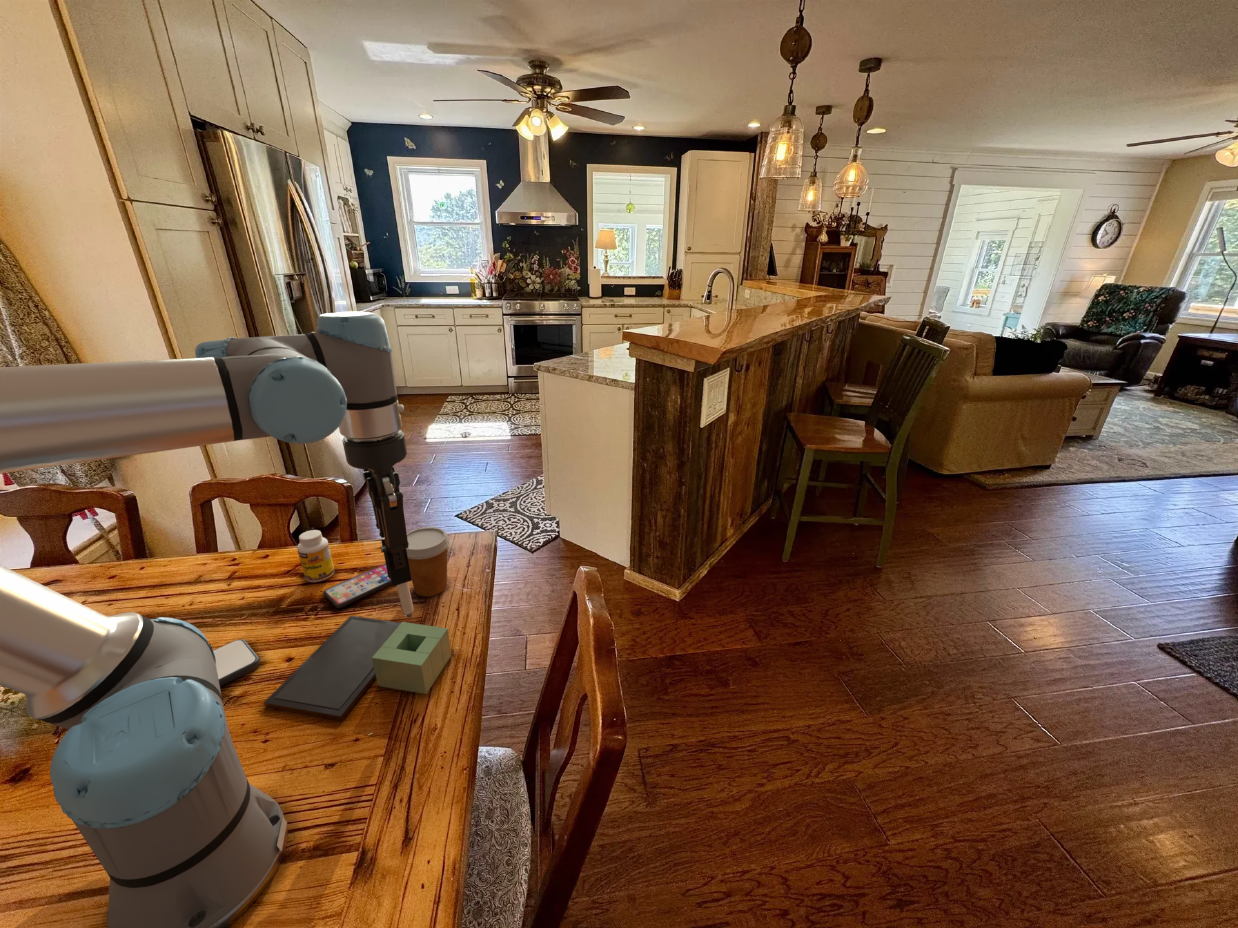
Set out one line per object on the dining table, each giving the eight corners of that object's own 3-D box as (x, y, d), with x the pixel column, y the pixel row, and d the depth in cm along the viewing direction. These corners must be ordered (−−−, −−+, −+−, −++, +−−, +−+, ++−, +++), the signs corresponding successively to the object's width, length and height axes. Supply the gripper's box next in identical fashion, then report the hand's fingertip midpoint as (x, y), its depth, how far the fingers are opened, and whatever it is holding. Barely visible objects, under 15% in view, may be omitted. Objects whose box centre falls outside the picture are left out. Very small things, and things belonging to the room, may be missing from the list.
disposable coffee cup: (464, 578, 106) (458, 530, 101) (436, 606, 97) (428, 554, 92) (426, 569, 108) (419, 522, 103) (396, 596, 100) (386, 545, 95)
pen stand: (426, 694, 78) (421, 665, 75) (378, 686, 79) (371, 657, 77) (451, 655, 85) (447, 628, 83) (407, 648, 87) (402, 621, 84)
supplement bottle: (299, 583, 103) (288, 541, 99) (314, 567, 108) (303, 527, 104) (326, 583, 103) (316, 541, 99) (340, 568, 108) (330, 527, 104)
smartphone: (321, 590, 99) (393, 559, 110) (322, 594, 100) (394, 562, 110) (337, 606, 95) (410, 572, 105) (338, 610, 95) (411, 575, 106)
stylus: (411, 620, 77) (393, 538, 71) (401, 618, 78) (383, 537, 71) (416, 613, 79) (400, 533, 73) (407, 612, 79) (390, 532, 73)
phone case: (244, 643, 87) (122, 699, 75) (242, 635, 87) (118, 692, 75) (263, 667, 82) (136, 732, 71) (261, 659, 82) (132, 723, 70)
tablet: (341, 721, 73) (340, 715, 73) (265, 707, 75) (263, 701, 74) (415, 628, 91) (414, 624, 91) (351, 619, 93) (350, 614, 93)
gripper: (416, 444, 62) (439, 595, 72) (390, 414, 73) (412, 549, 83) (351, 455, 58) (384, 614, 68) (333, 422, 69) (363, 563, 78)
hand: (399, 578), depth 75 cm, fingers closed on stylus, 1 cm apart
